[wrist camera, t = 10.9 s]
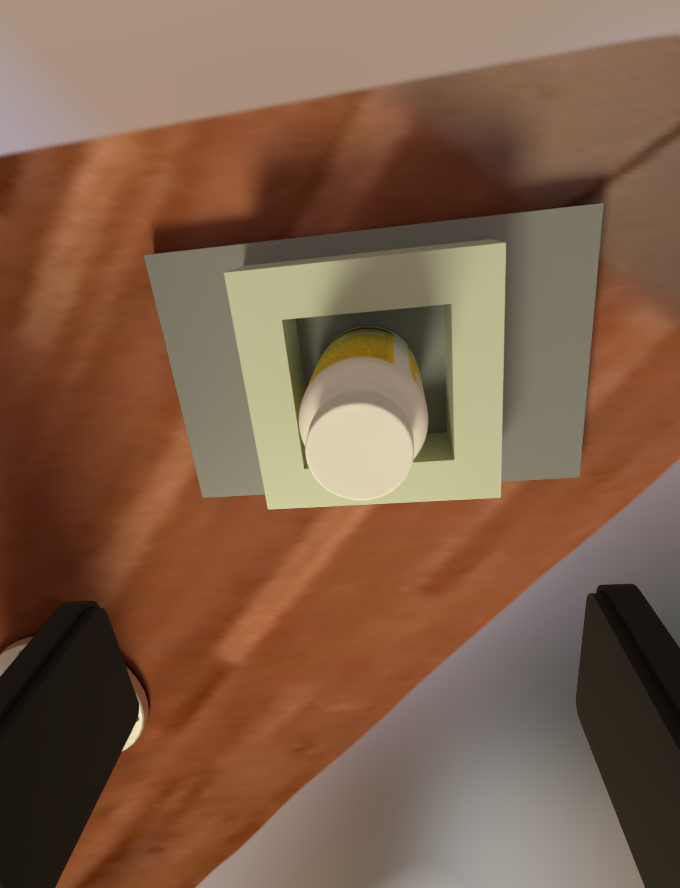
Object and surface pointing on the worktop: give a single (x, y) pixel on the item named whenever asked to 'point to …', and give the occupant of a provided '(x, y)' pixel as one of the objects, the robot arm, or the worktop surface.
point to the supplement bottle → (363, 414)
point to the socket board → (413, 319)
